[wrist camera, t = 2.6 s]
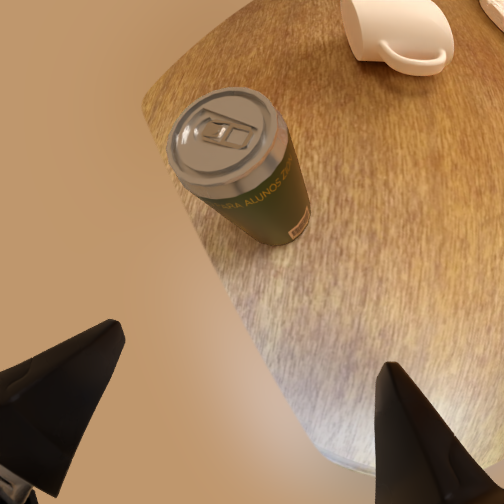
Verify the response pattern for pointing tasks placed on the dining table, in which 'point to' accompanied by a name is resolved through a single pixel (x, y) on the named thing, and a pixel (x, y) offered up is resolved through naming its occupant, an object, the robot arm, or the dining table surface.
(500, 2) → the cake
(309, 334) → the dining table surface
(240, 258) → the dining table surface
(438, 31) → the mug
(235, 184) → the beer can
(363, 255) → the dining table surface
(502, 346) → the dining table surface
